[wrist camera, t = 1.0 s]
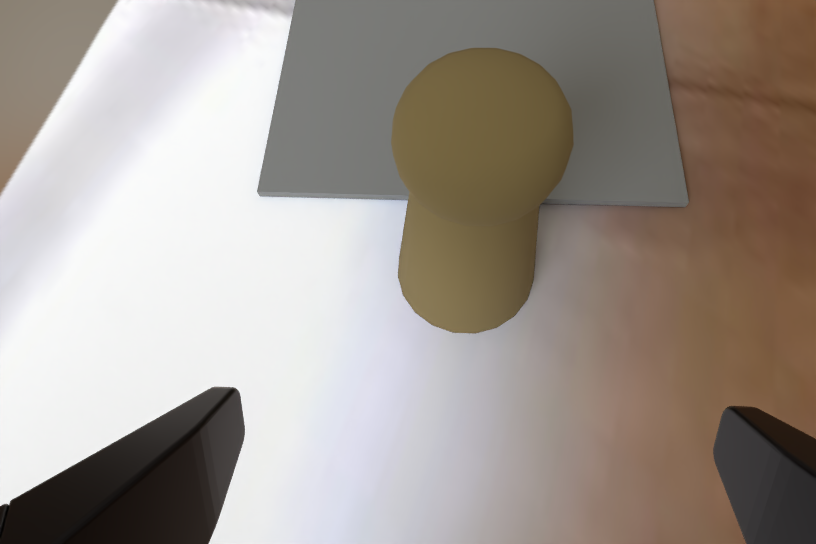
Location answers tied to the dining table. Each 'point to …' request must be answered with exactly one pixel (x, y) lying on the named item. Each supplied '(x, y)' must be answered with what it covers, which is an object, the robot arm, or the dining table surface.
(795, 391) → the dining table surface
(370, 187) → the rubber mat
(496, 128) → the cork
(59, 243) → the dining table surface
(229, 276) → the dining table surface
